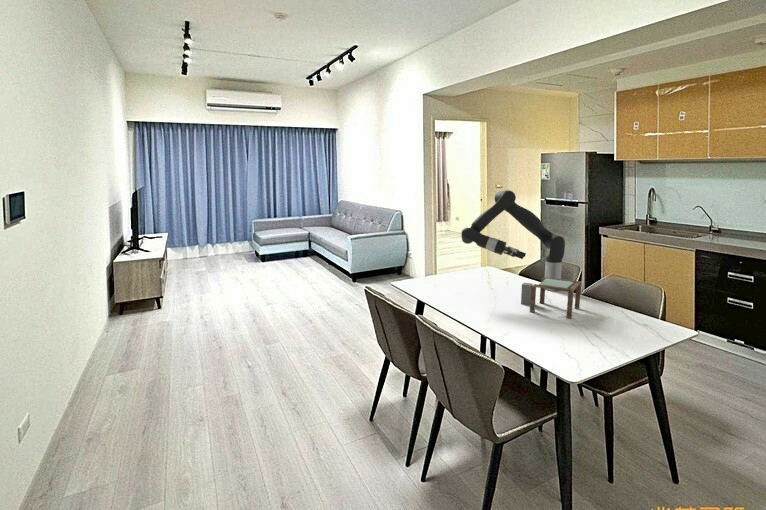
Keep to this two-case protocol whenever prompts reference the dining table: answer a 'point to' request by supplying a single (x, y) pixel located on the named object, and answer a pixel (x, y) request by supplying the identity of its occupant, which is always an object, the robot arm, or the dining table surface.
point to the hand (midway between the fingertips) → (524, 256)
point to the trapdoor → (557, 283)
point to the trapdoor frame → (570, 291)
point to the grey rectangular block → (526, 293)
